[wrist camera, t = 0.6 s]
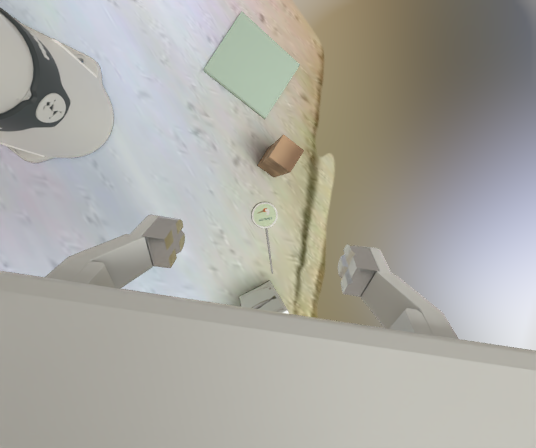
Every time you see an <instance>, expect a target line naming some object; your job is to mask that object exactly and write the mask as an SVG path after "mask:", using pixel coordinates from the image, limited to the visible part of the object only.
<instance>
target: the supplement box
mask: <svg viewBox="0 0 536 448" xmlns="http://www.w3.org/2000/svg"><path fill="white" fill-rule="evenodd" d="M239 299H240V303H241V307H246V308H253V309H260V310H266V311H273V312H280V313H286V314H289V312H288V310H287V308H286V307H285V305H284V303H283V302H282V300H281V298H280V296H279V295H278V293H277V292H276V290H275V288H274V287H273V285H272V283H271V281H268V282H266V283H265V284H263V285H261V286H259V287H257V288H255V289H253V290H251V291H249V292H247V293H245V294H243V295H241V296H239Z"/></svg>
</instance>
